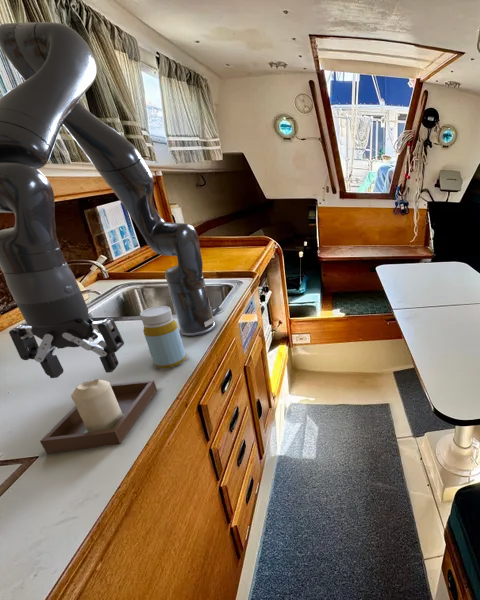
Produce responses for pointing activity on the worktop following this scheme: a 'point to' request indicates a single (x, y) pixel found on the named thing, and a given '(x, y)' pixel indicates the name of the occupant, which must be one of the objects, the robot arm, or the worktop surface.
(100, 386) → the candle
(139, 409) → the tray
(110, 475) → the worktop surface
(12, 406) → the worktop surface
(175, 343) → the bottle
